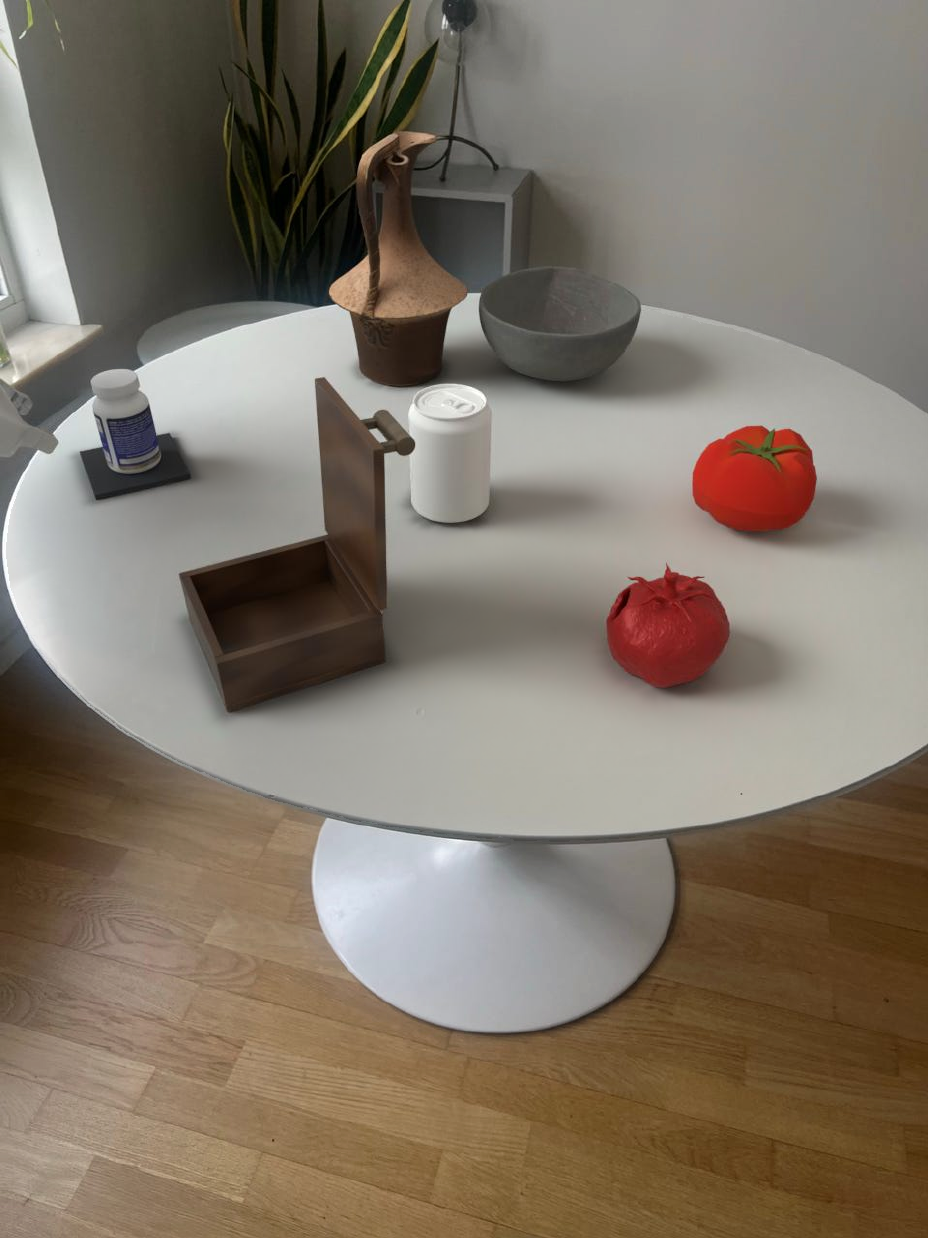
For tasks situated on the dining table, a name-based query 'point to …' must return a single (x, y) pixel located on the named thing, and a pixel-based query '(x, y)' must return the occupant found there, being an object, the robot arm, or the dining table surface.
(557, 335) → the bowl
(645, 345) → the dining table surface
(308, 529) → the dining table surface
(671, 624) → the red crowned fruit
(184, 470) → the mat
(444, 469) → the beverage can
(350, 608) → the chest
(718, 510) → the tomato
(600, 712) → the dining table surface
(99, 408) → the pill bottle
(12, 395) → the robot arm
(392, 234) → the pitcher
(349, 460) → the chest lid
